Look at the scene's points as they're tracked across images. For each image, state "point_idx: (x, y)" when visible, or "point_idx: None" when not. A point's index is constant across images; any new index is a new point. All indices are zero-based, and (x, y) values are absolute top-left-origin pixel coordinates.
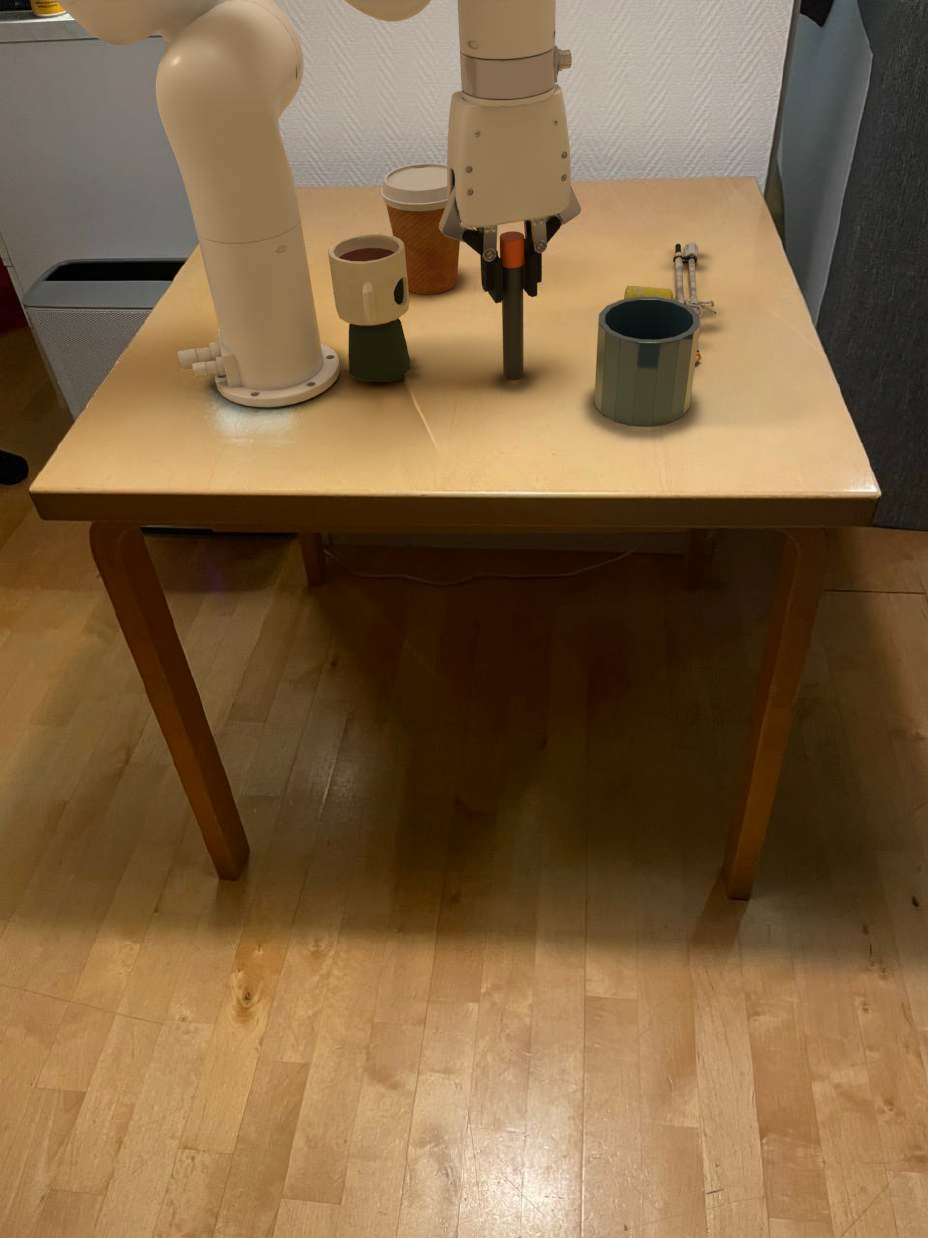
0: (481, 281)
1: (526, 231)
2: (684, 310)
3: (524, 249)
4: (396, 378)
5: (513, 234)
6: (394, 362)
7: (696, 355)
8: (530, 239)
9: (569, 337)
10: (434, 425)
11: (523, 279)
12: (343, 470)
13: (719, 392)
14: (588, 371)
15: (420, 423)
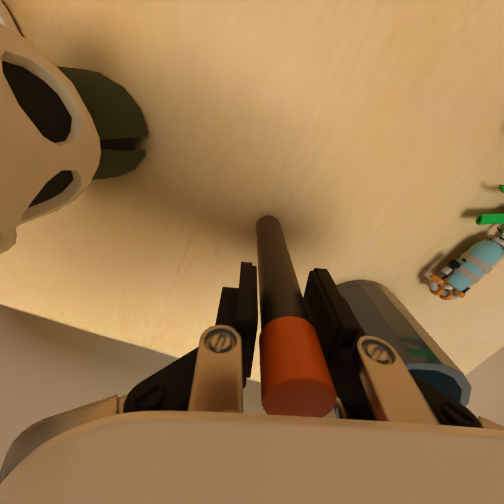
0: (222, 288)
1: (361, 379)
2: (457, 398)
3: (329, 354)
4: (122, 174)
5: (308, 399)
6: (108, 176)
7: (458, 296)
8: (348, 390)
9: (393, 149)
10: (159, 269)
11: (309, 300)
12: (64, 300)
13: (428, 320)
14: (354, 241)
15: (145, 261)
